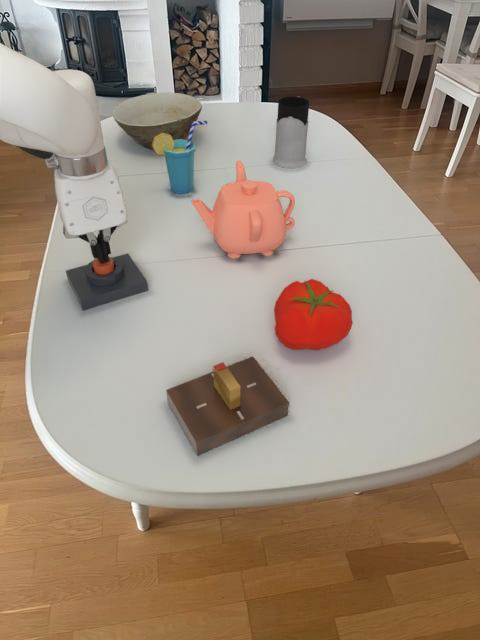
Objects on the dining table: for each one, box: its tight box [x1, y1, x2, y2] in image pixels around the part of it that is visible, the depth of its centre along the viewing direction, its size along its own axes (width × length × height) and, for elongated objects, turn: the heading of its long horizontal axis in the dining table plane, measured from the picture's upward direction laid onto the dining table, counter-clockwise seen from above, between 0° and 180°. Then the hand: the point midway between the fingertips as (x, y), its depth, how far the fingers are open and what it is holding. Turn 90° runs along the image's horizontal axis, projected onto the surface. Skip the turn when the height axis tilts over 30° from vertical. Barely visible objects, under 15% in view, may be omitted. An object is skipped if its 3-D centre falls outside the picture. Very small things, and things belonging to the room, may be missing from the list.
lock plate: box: [165, 355, 290, 457], centre depth 73 cm, size 14×10×3 cm
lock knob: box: [212, 362, 241, 410], centre depth 70 cm, size 5×2×4 cm, turn 28°
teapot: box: [191, 160, 296, 259], centre depth 102 cm, size 16×17×14 cm
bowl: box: [112, 92, 203, 150], centre depth 141 cm, size 24×24×10 cm
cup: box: [152, 120, 208, 195], centre depth 119 cm, size 14×8×15 cm, turn 129°
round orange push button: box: [91, 256, 114, 275], centre depth 92 cm, size 4×4×2 cm
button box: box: [65, 253, 149, 311], centre depth 94 cm, size 12×10×4 cm
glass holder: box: [272, 95, 310, 169], centre depth 132 cm, size 9×14×15 cm, turn 166°
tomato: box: [273, 278, 353, 351], centre depth 82 cm, size 14×13×9 cm
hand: (102, 258), depth 91 cm, fingers closed
